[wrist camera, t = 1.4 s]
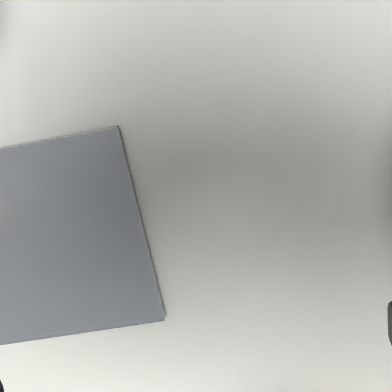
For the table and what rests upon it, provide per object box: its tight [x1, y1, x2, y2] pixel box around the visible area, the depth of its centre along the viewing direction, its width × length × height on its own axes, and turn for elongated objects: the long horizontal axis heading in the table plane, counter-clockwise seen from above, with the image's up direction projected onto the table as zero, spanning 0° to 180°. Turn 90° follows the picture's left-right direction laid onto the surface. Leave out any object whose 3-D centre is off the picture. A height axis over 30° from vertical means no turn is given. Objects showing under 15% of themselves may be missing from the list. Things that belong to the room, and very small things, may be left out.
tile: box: [0, 126, 165, 345], centre depth 22 cm, size 12×12×1 cm
